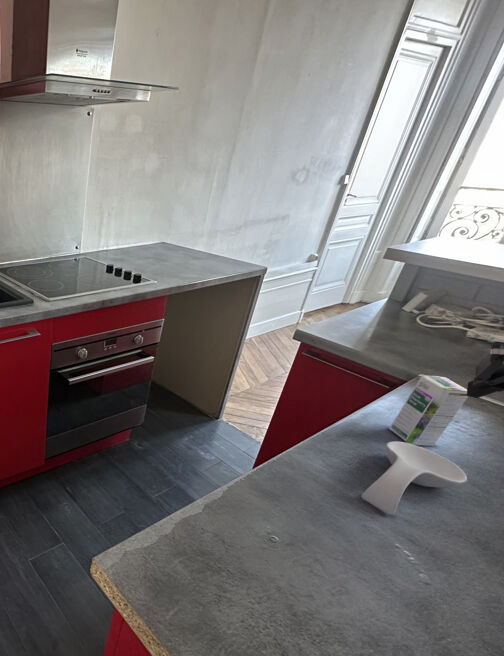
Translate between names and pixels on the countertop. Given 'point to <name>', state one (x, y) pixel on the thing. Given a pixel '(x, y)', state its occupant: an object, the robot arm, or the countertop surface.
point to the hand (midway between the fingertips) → (472, 390)
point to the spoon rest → (411, 474)
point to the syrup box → (429, 410)
